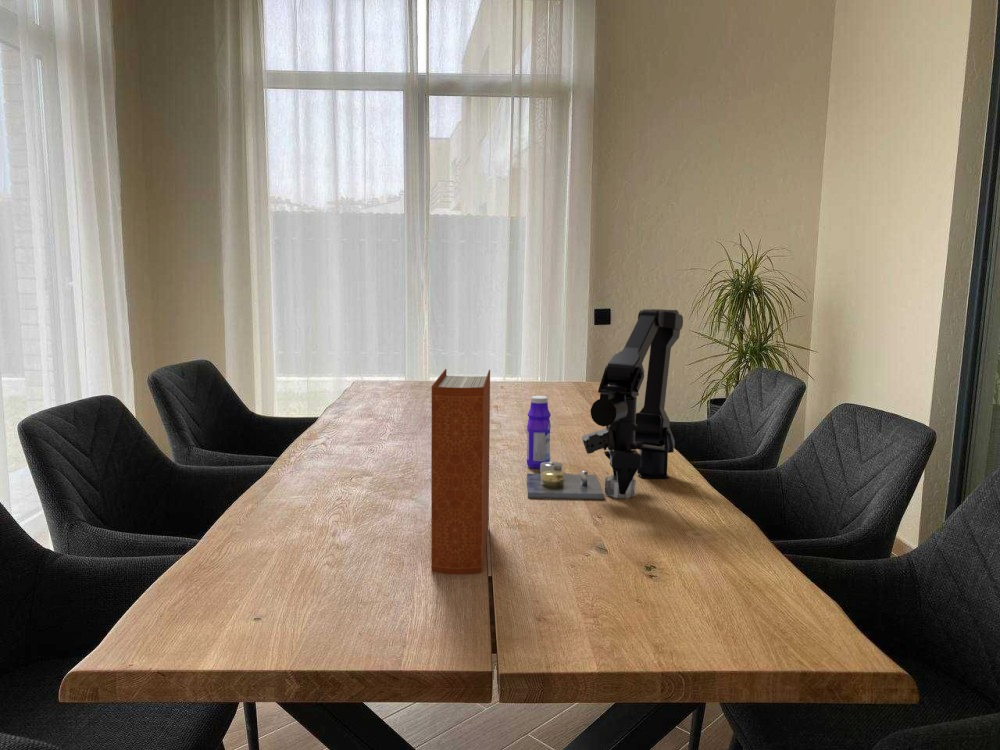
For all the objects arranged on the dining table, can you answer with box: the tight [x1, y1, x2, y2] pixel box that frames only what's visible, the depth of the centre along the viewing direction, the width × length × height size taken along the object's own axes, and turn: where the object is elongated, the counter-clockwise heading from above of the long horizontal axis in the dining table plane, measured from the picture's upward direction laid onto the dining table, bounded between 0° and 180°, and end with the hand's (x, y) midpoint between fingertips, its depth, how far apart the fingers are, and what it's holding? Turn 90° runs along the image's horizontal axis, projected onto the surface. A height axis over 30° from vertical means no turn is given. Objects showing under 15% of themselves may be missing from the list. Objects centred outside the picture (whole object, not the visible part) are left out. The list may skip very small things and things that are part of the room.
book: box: [430, 368, 491, 576], centre depth 136 cm, size 23×8×30 cm, turn 178°
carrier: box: [526, 461, 605, 500], centre depth 177 cm, size 16×16×5 cm
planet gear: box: [604, 474, 637, 500], centre depth 173 cm, size 6×6×4 cm
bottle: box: [526, 395, 552, 470], centre depth 196 cm, size 7×6×17 cm
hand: (620, 489), depth 173 cm, fingers closed on planet gear, 6 cm apart
